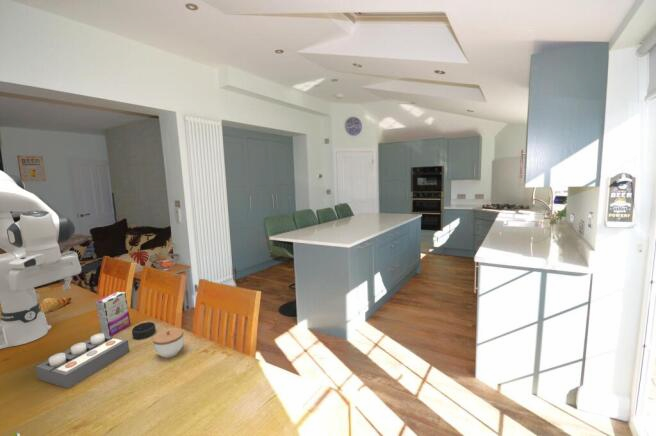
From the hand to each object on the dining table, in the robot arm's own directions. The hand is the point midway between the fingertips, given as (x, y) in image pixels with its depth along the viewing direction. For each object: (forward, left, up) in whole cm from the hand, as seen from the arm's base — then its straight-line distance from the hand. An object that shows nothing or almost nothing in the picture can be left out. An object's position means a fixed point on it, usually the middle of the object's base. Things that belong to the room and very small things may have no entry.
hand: (51, 294), depth 111 cm
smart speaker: (+9, +26, -29) cm, 40 cm away
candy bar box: (-7, +25, -29) cm, 39 cm away
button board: (+7, +3, -29) cm, 29 cm away
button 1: (+4, -4, -25) cm, 26 cm away
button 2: (+4, +3, -25) cm, 26 cm away
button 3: (+4, +10, -25) cm, 27 cm away
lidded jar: (+32, +18, -29) cm, 46 cm away
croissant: (-66, +31, -29) cm, 79 cm away
